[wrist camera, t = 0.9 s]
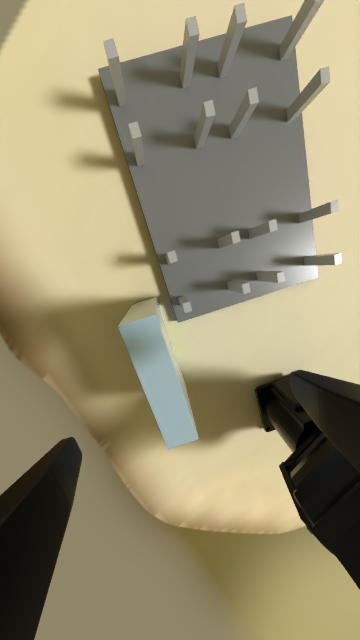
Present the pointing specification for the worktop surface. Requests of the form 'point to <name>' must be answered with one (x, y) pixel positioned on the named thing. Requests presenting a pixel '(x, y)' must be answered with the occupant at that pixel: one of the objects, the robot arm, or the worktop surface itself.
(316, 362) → the worktop surface
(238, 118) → the dish rack
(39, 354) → the worktop surface
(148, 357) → the light blue rectangular slab
